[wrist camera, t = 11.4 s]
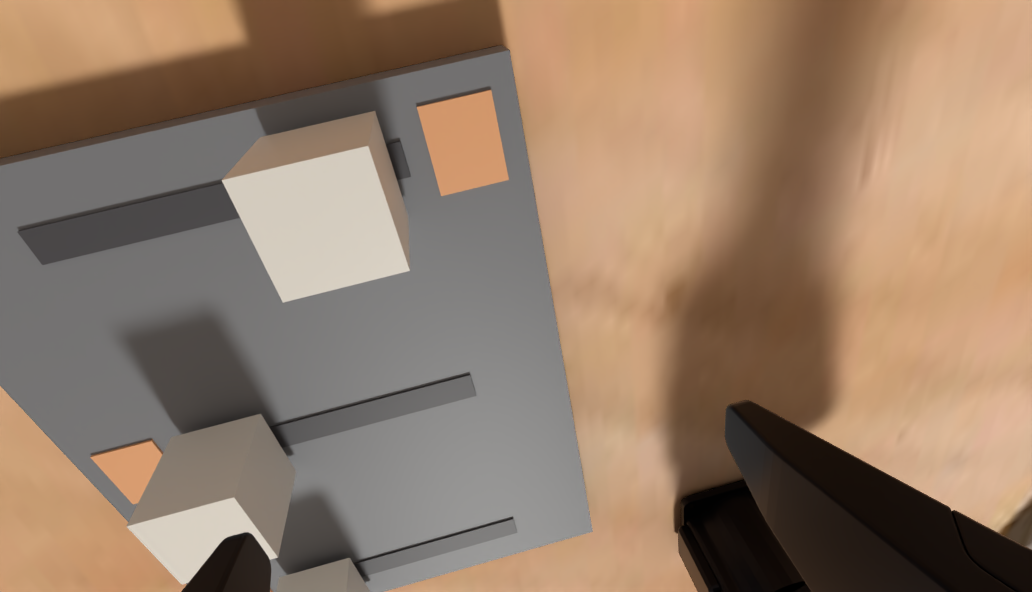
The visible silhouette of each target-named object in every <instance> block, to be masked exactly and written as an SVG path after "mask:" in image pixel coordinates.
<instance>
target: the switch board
mask: <svg viewBox="0 0 1032 592" xmlns="http://www.w3.org/2000/svg"><path fill="white" fill-rule="evenodd" d="M372 111H375V112H376V115H377V119H378V122H379V125H380V128H381V131H382V134H383V138H384V141H385V144H386V147H387V150H388V153H389V157H390V160H391V163H392V166H393V169H394V172H395V176H396V179H397V182H398V185H399V188H400V191H401V195H402V198H403V201H404V204H405V207H406V210H407V214H408V225H409V258H410V271H407V272H403V273H399V274H395V275H391V276H387V277H383V278H379V279H375V280H371V281H367V282H363V283H359V284H355V285H351V286H347V287H343V288H339V289H335V290H331V291H327V292H323V293H319V294H315V295H312V296H308V297H304V298H300V299H296V300H292V301H288V302H284V303H283V302H282V300H281V298H280V296H279V294H278V292H277V290H276V288H275V286H274V284H273V282H272V280H271V278H270V276H269V274H268V272H267V270H266V268H265V266H264V264H263V262H262V260H261V258H260V256H259V254H258V252H257V250H256V248H255V246H254V244H253V242H252V240H251V238H250V236H249V234H248V232H247V230H246V228H245V226H244V224H243V222H242V220H241V218H240V216H239V214H238V212H237V210H236V208H235V206H234V204H233V202H232V200H231V198H230V196H229V194H228V192H227V190H226V188H225V186H224V184H223V182H222V179H223V178H224V177H225V176H226V175H227V174H228V172H229V171H230V170H231V169H232V168H233V167H234V166H235V165H236V163H237V162H238V161H239V160H240V159H241V158H242V157H243V156H244V154H245V153H246V152H247V151H248V150H249V149H250V148H251V147H252V146H253V144H254V143H255V142H256V141H257V140H258V139H259V138H260V137H264V136H268V135H272V134H277V133H281V132H285V131H290V130H294V129H298V128H303V127H307V126H311V125H316V124H320V123H324V122H329V121H333V120H337V119H342V118H346V117H350V116H355V115H359V114H363V113H368V112H372ZM0 386H1V387H2V388H3V389H4V390H5V391H6V392H7V393H8V394H9V396H10V397H11V398H12V399H13V400H14V401H15V402H16V403H17V404H18V405H19V406H20V407H21V408H22V409H23V410H24V412H25V413H26V414H27V415H28V416H29V417H30V418H31V419H32V420H33V421H34V422H35V423H36V424H37V425H38V426H39V427H40V429H41V430H42V431H43V432H44V433H45V434H46V435H47V436H48V437H49V438H50V439H51V440H52V441H53V442H54V443H55V445H56V446H57V447H58V448H59V449H60V450H61V451H62V452H63V453H64V454H65V455H66V456H67V457H68V458H69V459H70V460H71V462H72V463H73V464H74V465H75V466H76V467H77V468H78V469H79V470H80V471H81V472H82V473H83V474H84V475H85V476H86V478H87V479H88V480H89V481H90V482H91V483H92V484H93V485H94V486H95V487H96V488H97V489H98V490H99V491H100V492H101V493H102V495H103V496H104V497H105V498H106V499H107V500H108V501H109V502H110V503H111V504H112V505H113V506H114V507H115V508H116V509H117V511H118V512H119V513H120V514H121V515H122V516H123V517H124V518H125V519H126V520H127V521H128V522H129V520H130V518H131V516H132V514H133V512H134V510H135V508H136V506H137V504H138V502H139V500H140V498H141V496H142V494H143V493H144V491H145V489H146V487H147V485H148V483H149V481H150V479H151V477H152V475H153V473H154V471H155V469H156V467H157V465H158V463H159V461H160V459H161V457H162V455H163V453H164V451H165V449H166V447H167V445H168V443H169V441H170V439H171V437H174V436H178V435H181V434H185V433H189V432H193V431H197V430H200V429H204V428H208V427H212V426H216V425H219V424H223V423H227V422H231V421H235V420H238V419H242V418H246V417H250V416H254V415H257V414H261V415H262V416H263V418H264V420H265V421H266V423H267V425H268V426H269V428H270V429H271V431H272V433H273V434H274V436H275V438H276V439H277V441H278V443H279V444H280V446H281V447H282V449H283V451H284V452H285V454H286V456H287V457H288V459H289V461H290V462H291V464H292V465H293V467H294V469H295V470H296V476H295V480H294V485H293V490H292V494H291V499H290V504H289V509H288V513H287V518H286V523H285V527H284V532H283V537H282V541H281V546H280V551H279V556H278V558H274V559H271V560H270V562H271V586H270V592H276V590H277V585H278V580H279V577H283V576H286V575H290V574H293V573H297V572H300V571H304V570H307V569H311V568H314V567H318V566H322V565H325V564H329V563H332V562H336V561H339V560H343V559H346V558H350V559H351V561H352V562H353V564H354V566H355V567H356V569H357V571H358V572H359V574H360V576H361V577H362V579H363V580H364V582H365V584H366V585H367V587H368V589H369V590H370V592H384V591H388V590H391V589H395V588H398V587H402V586H405V585H409V584H412V583H416V582H419V581H423V580H426V579H429V578H433V577H436V576H440V575H443V574H447V573H450V572H454V571H457V570H461V569H464V568H468V567H471V566H475V565H478V564H482V563H485V562H489V561H492V560H496V559H499V558H503V557H506V556H509V555H513V554H516V553H520V552H523V551H527V550H530V549H534V548H537V547H541V546H544V545H548V544H551V543H555V542H558V541H562V540H565V539H569V538H572V537H576V536H579V535H583V534H586V533H590V532H593V531H592V525H591V519H590V513H589V507H588V502H587V496H586V490H585V484H584V479H583V473H582V467H581V461H580V455H579V450H578V444H577V438H576V432H575V427H574V421H573V415H572V409H571V403H570V398H569V392H568V386H567V380H566V374H565V369H564V363H563V357H562V351H561V346H560V340H559V334H558V328H557V322H556V317H555V311H554V305H553V299H552V294H551V288H550V282H549V276H548V270H547V265H546V259H545V253H544V247H543V241H542V236H541V230H540V224H539V218H538V213H537V207H536V201H535V195H534V189H533V184H532V178H531V172H530V166H529V161H528V155H527V149H526V143H525V137H524V132H523V126H522V120H521V114H520V109H519V103H518V97H517V91H516V85H515V80H514V74H513V68H512V62H511V56H510V51H509V49H507V48H505V47H504V46H502V45H499V46H495V47H490V48H486V49H482V50H477V51H473V52H468V53H464V54H460V55H455V56H451V57H446V58H442V59H438V60H433V61H429V62H424V63H420V64H415V65H411V66H407V67H402V68H398V69H393V70H389V71H385V72H380V73H376V74H371V75H367V76H363V77H358V78H354V79H349V80H345V81H340V82H336V83H332V84H327V85H323V86H318V87H314V88H310V89H305V90H301V91H296V92H292V93H288V94H283V95H279V96H274V97H270V98H265V99H261V100H257V101H252V102H248V103H243V104H239V105H235V106H230V107H226V108H221V109H217V110H212V111H208V112H204V113H199V114H195V115H190V116H186V117H182V118H177V119H173V120H168V121H164V122H160V123H155V124H151V125H146V126H142V127H137V128H133V129H129V130H124V131H120V132H115V133H111V134H107V135H102V136H98V137H93V138H89V139H85V140H80V141H76V142H71V143H67V144H62V145H58V146H54V147H49V148H45V149H40V150H36V151H32V152H27V153H23V154H18V155H14V156H10V157H5V158H1V159H0ZM186 584H188V583H186Z"/></svg>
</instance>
